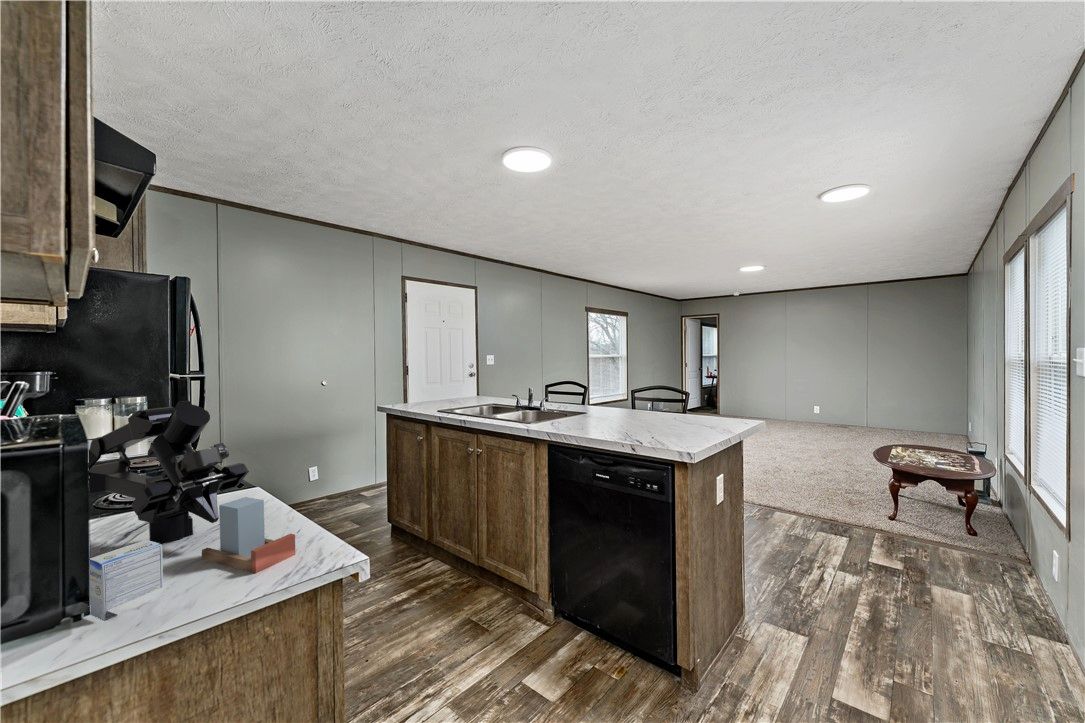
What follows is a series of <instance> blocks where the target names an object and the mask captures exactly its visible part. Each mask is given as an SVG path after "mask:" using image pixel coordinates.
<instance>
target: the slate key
mask: <svg viewBox="0 0 1085 723" xmlns="http://www.w3.org/2000/svg"><path fill="white" fill-rule="evenodd" d="M264 503H265V502H264V499H260V498H254V497H248V496H245V497H241V498H237V499H235V500H231V501H228V502H225V503H222V504H219V506H218V517H219V537H220V538H219V539H220V540H219V541H220V542H219V544H220V545H219V549H220V551H224V552H228V553H232V554H236V555H241V556H245V557H249V558H251V550H253V549H255V548H258V547H260V546H262V545H265V539H266V538H265V534H266V533H265V507H264V506H265V504H264Z"/></svg>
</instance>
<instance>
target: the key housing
mask: <svg viewBox="0 0 1085 723" xmlns="http://www.w3.org/2000/svg"><path fill="white" fill-rule="evenodd" d="M293 556H294V557H295V556H296V534H294V533H288V534H286V535H283V536H281V537H279V538H277V539H274V540H273V539H270V538H265V545H262V546H260V547H258V548H255V549H253V550H251V558H249V557H245V556H241V555H236V554H232V553H228V552H224V551H220V550H219V549H215V548H210V547H205V548H202V550H201V560H203V561H206V562H210V563H214V564H217V565H221V566H226V567H230V568H232V569H233V568H234V569H237V570H242V571H245V572H249V573H253V574H258V573H260V572H263V571H265V570H266V569H269V568H271V567H272V566H275V565H277V564H280V563H281V562H283V561H285V560H287V559H290V558H292V557H293Z"/></svg>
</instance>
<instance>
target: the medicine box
mask: <svg viewBox="0 0 1085 723" xmlns="http://www.w3.org/2000/svg"><path fill="white" fill-rule="evenodd" d="M89 559H90V605H91V615H90V616H92V617H94V616H95V617H94V618H96V617H98V618H97V619H99V618H100V619H99V620H101V619H102V620H101V621H107V620H108V619H111V618H113V617H115V616H118V614H117V613H115V612H111V611H110V610H112V609H115V608H117V607H120V606H122V605H124V604H127V603H129V602H133V601H134V600H136V599H138V598H141V597H143V596H145V595H148V594H150V593H152V592H155V591H157V590H160V589H162V588H164V573H163V572H164V571H163V570H164V568H163V566H164V565H163V544H162V545H161V544H159V543H156V542H152V541H149V540H148V539H145V540H141V541H137V542H136V543H132V544H129V545H126V546H123V547H120V548H117V549H113V550H111V551H108V552H106V553H102V554H99V555H96V556H93V557H89Z"/></svg>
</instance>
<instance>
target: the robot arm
mask: <svg viewBox="0 0 1085 723" xmlns="http://www.w3.org/2000/svg"><path fill="white" fill-rule="evenodd" d="M210 420H211V415H210V413H209V410H206V409H204V408H203V407H202V406H199V405H196V404H192V403H191V401H190V400H181V401H178V402H177V404H176V405H175V407H173V406H165V407H157V408H149V409H148V408H147V409H140V410H135V412H134V413H132V414H131V415H130V416H129V417H128V418H127V422H128V423H127V424H124V425H122V426H120V427H118V428H116V429H114V430H112V431H110V432H108V433H106V434H104V435H102V436H99V437H98V436H97V437H96V438H93V439H92V440H91V442H90V445H89V450H88V451H89V476H90V479H89V489H90V494H89V495H91V494H98V493H99V494H100V493H107V492H109V493H113V494H117V495H122V496H124V497H128V498H132V499H134V500H133V501H132V503H131V506H132V510H133V511H134V513H135V515H137V519H138V521H141V522H145V523H148V534H149V536H148V537H149V538H148V539H149V540H148V541H152V542H156V543H159V544H161V545H162V546H163V545H164V544H168V543H173V542H177V541H180V540H183V539H184V538H188V537H190V536H191V537H192V536H193V535H194V524H193V522H194V520H193V517H192V516H191V515H190V513H191V514H194V515H195V516H197V517H199V518H201V519H203V520H205V521H207V522H209V523H211V524H214V523H217V522H218V520H220V516H219V506H218V491H219V492H225V491H229V490H233V489H235V488H237V487H238V486H239V485H240V484H241V483H242V481H243V480H244V479H245V477H246V476H247V475H248V474H249V472H250V470H249V469H248V467H247V466H246V464H244V463H243V462H239V463H238V462H237V463H234V464H230V465H227V466H223V467H222V469H220V471H219V473H218V474H216V475H212V476H210V474H211V473H213V472H214V471H215V467H214V466H216V465H218V464H222V463H223V462H224V461H223V460H225V459H227V458H228V457H229V456H230V452H229V449H228V447H227V446H226V445H225V443H224V442H221V443H220V442H219V443H216V444H213V445H212V446H210V447H209V448H204V449H200V450H196V451H195V450H194V448H193V447H192V445H191V444H192V443H195V441H196V440H198V438H199V436H200V435H201V434H202V432H203V431H204V429H205V427H206V426H207V425H208V423H209V422H210ZM149 438H154V439H153V440H152V442H151V443H150V446H149V448H148V450H147V456H148V457H149V458H150V457H153V456H155V458H156V459H157V461H158V464H160V466H161V468H162V472H161V473H160V475H156V476H150V475H146V474H140V473H136V472H131V471H130V467H131V464H132V461H130V459H129V457H128V455H127V454H126V451H127V449H128V448H129V447H132V446H134V445H136V444H139V443H141V442H143V441H145V440H147V439H149ZM117 453H118V455H119V458H118V461H117V460H116V461H112V462H106V463H102V464H101V463H100V464H96V463H97V462H98V461H99V460H100V459H101V458H102V457H101V456H105V455H110V454H117Z"/></svg>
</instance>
